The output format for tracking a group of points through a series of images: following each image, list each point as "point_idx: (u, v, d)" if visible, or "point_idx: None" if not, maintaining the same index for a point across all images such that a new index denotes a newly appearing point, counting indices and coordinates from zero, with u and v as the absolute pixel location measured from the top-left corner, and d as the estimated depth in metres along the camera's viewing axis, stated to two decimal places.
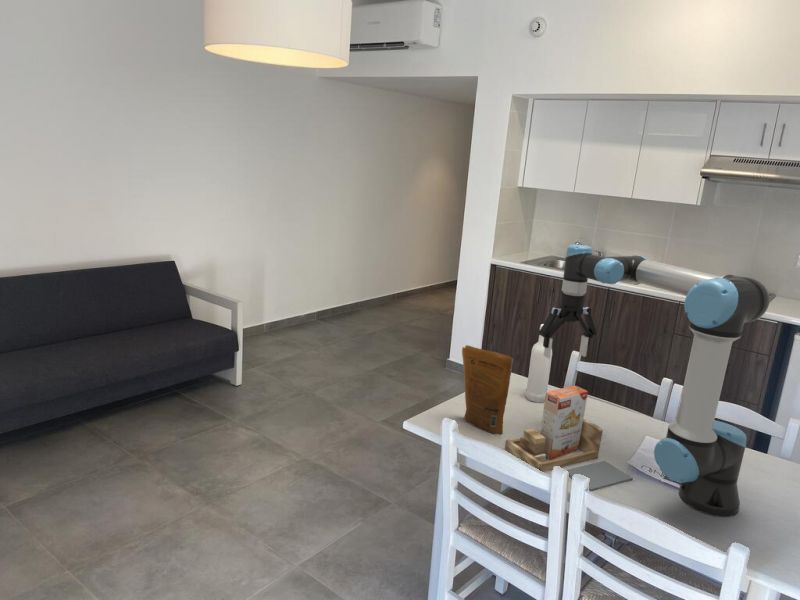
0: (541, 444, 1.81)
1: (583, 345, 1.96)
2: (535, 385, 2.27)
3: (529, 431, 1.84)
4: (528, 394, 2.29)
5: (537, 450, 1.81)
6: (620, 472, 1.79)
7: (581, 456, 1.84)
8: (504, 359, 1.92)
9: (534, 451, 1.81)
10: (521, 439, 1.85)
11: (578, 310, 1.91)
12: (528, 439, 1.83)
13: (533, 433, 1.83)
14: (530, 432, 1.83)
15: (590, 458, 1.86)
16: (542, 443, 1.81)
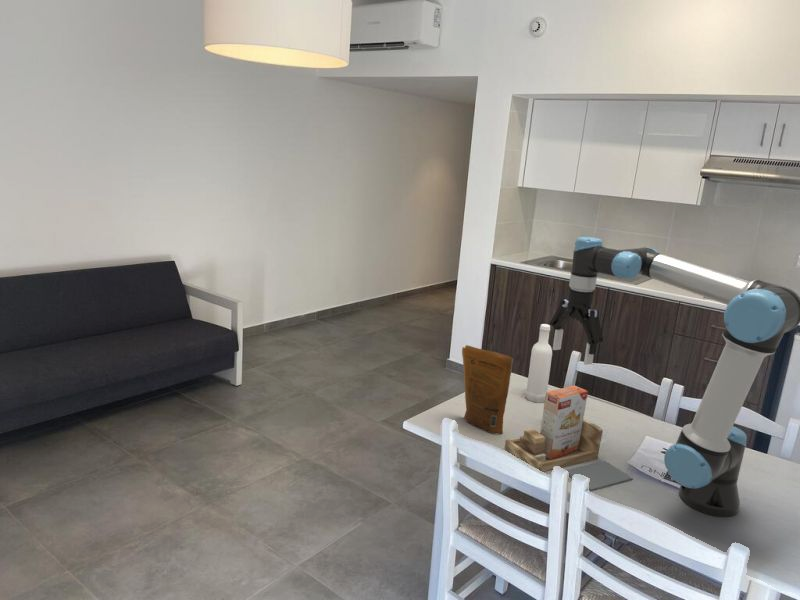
0: (541, 444, 1.81)
1: None
2: (535, 385, 2.27)
3: (529, 431, 1.84)
4: (528, 394, 2.29)
5: (537, 450, 1.81)
6: (620, 472, 1.79)
7: (581, 456, 1.84)
8: (503, 359, 1.92)
9: (534, 451, 1.81)
10: (521, 439, 1.85)
11: (581, 308, 1.77)
12: (528, 439, 1.83)
13: (532, 433, 1.83)
14: (530, 432, 1.84)
15: (590, 458, 1.86)
16: (542, 442, 1.81)
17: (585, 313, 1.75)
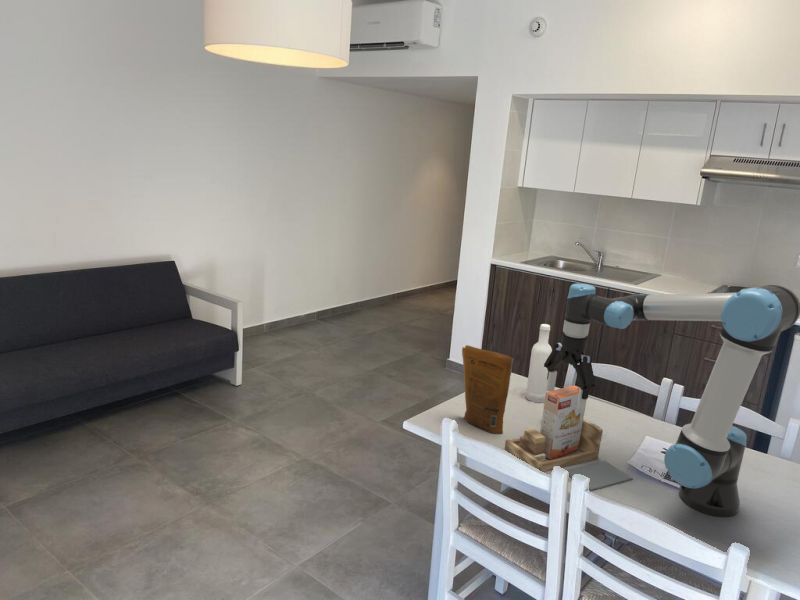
0: (541, 444, 1.81)
1: None
2: (535, 385, 2.27)
3: (529, 431, 1.84)
4: (528, 394, 2.29)
5: (537, 450, 1.81)
6: (620, 472, 1.79)
7: (581, 456, 1.84)
8: (504, 359, 1.92)
9: (534, 450, 1.81)
10: (521, 439, 1.85)
11: (574, 353, 1.80)
12: (528, 439, 1.83)
13: (533, 433, 1.83)
14: (530, 432, 1.84)
15: (590, 458, 1.86)
16: (542, 442, 1.81)
17: (578, 358, 1.79)
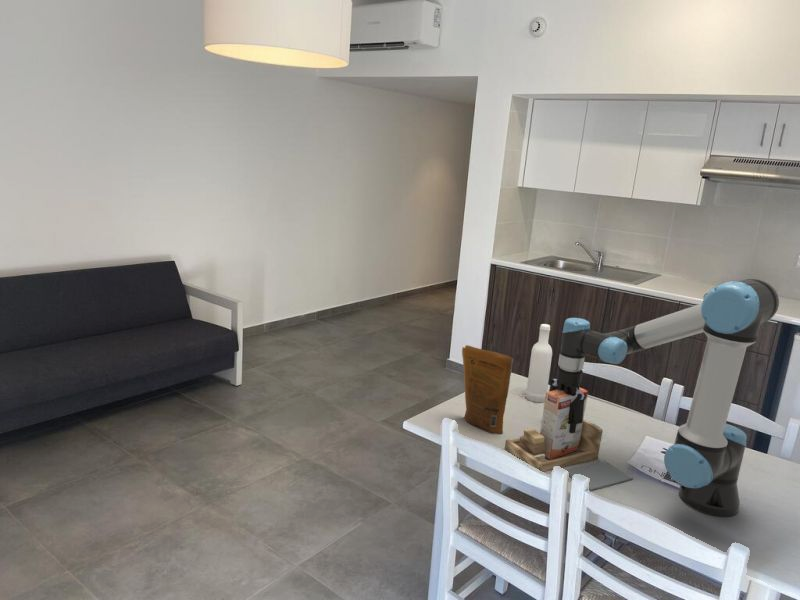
0: (540, 444, 1.81)
1: None
2: (535, 385, 2.27)
3: (529, 431, 1.85)
4: (528, 394, 2.29)
5: (536, 450, 1.81)
6: (620, 472, 1.79)
7: (581, 456, 1.84)
8: (504, 359, 1.92)
9: (533, 451, 1.81)
10: (521, 439, 1.85)
11: (570, 386, 1.82)
12: (527, 439, 1.83)
13: (532, 433, 1.83)
14: (530, 432, 1.84)
15: (590, 458, 1.86)
16: (541, 442, 1.81)
17: (573, 392, 1.81)
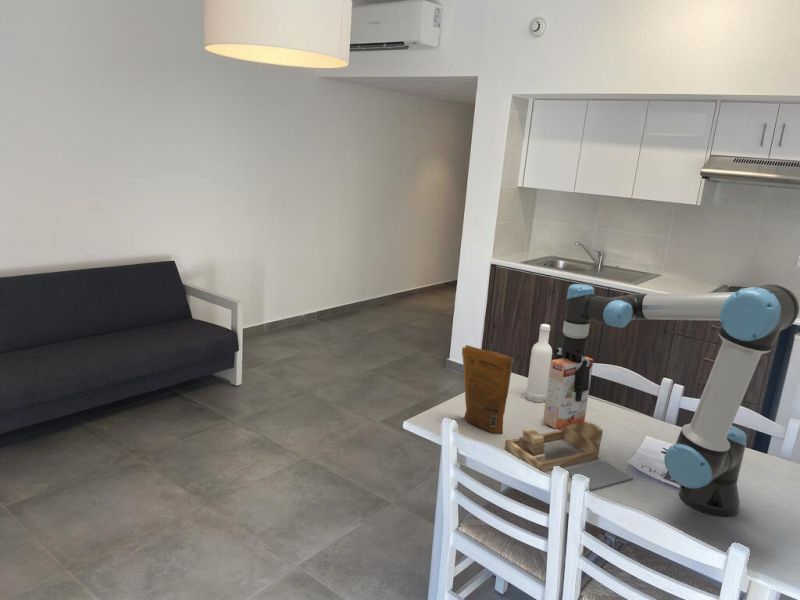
0: (539, 444, 1.81)
1: None
2: (535, 385, 2.27)
3: (528, 431, 1.84)
4: (528, 394, 2.29)
5: (536, 450, 1.80)
6: (620, 472, 1.79)
7: (581, 456, 1.84)
8: (503, 359, 1.92)
9: (532, 451, 1.81)
10: (520, 439, 1.85)
11: (575, 353, 1.80)
12: (527, 439, 1.83)
13: (531, 433, 1.83)
14: (529, 432, 1.83)
15: (590, 458, 1.86)
16: (541, 443, 1.81)
17: (579, 359, 1.79)
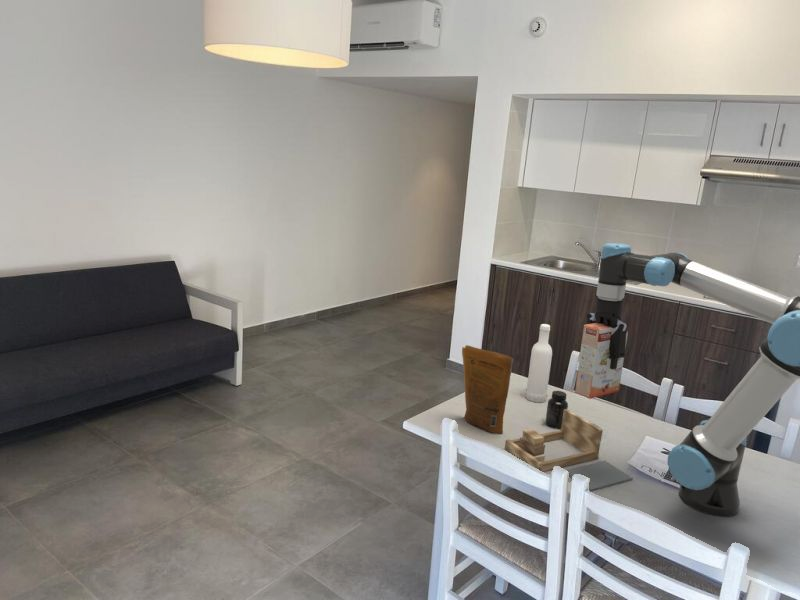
0: (540, 444, 1.81)
1: None
2: (535, 385, 2.27)
3: (528, 431, 1.84)
4: (528, 394, 2.29)
5: (536, 451, 1.80)
6: (620, 472, 1.79)
7: (581, 456, 1.84)
8: (503, 359, 1.92)
9: (533, 451, 1.80)
10: (520, 440, 1.85)
11: (610, 317, 1.68)
12: (527, 439, 1.83)
13: (531, 433, 1.83)
14: (529, 432, 1.83)
15: (590, 458, 1.86)
16: (541, 443, 1.81)
17: (614, 323, 1.67)
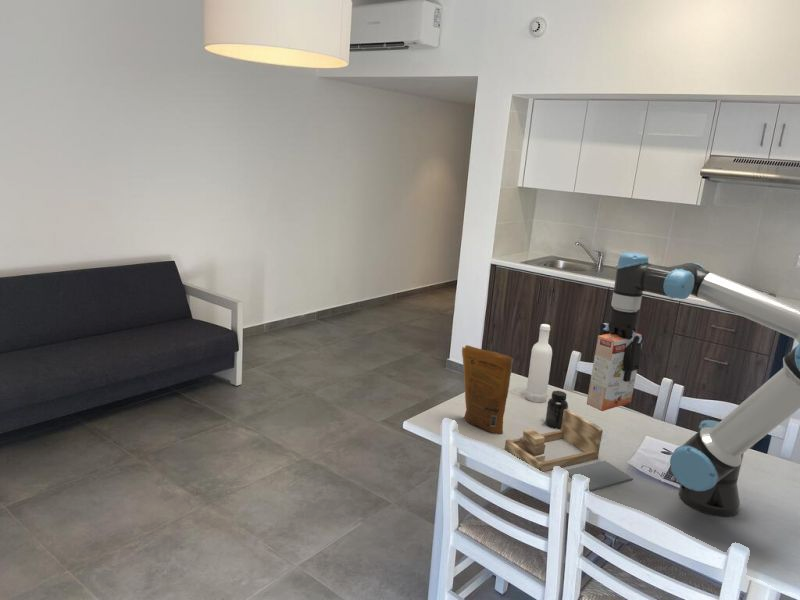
0: (540, 444, 1.81)
1: None
2: (535, 385, 2.27)
3: (528, 431, 1.84)
4: (528, 394, 2.29)
5: (537, 451, 1.80)
6: (620, 472, 1.79)
7: (581, 456, 1.84)
8: (503, 359, 1.92)
9: (534, 451, 1.80)
10: (520, 440, 1.85)
11: (625, 328, 1.64)
12: (527, 439, 1.83)
13: (532, 434, 1.83)
14: (529, 433, 1.83)
15: (590, 458, 1.86)
16: (541, 443, 1.81)
17: (629, 335, 1.63)
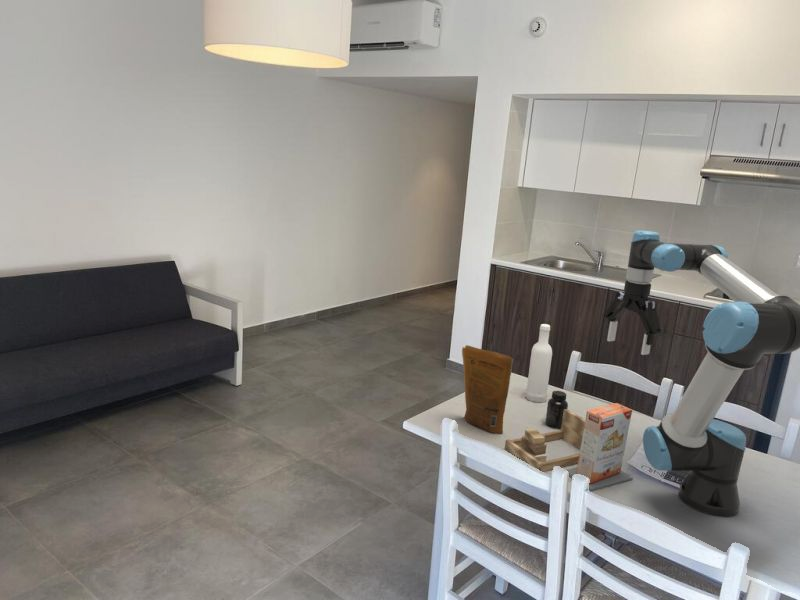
0: (540, 444, 1.81)
1: None
2: (535, 385, 2.27)
3: (530, 430, 1.85)
4: (528, 394, 2.29)
5: (537, 450, 1.81)
6: (620, 472, 1.79)
7: None
8: (504, 359, 1.92)
9: (534, 451, 1.81)
10: (522, 439, 1.86)
11: (638, 300, 1.81)
12: (528, 438, 1.84)
13: (533, 433, 1.83)
14: (531, 432, 1.84)
15: None
16: (541, 443, 1.81)
17: (642, 305, 1.80)
